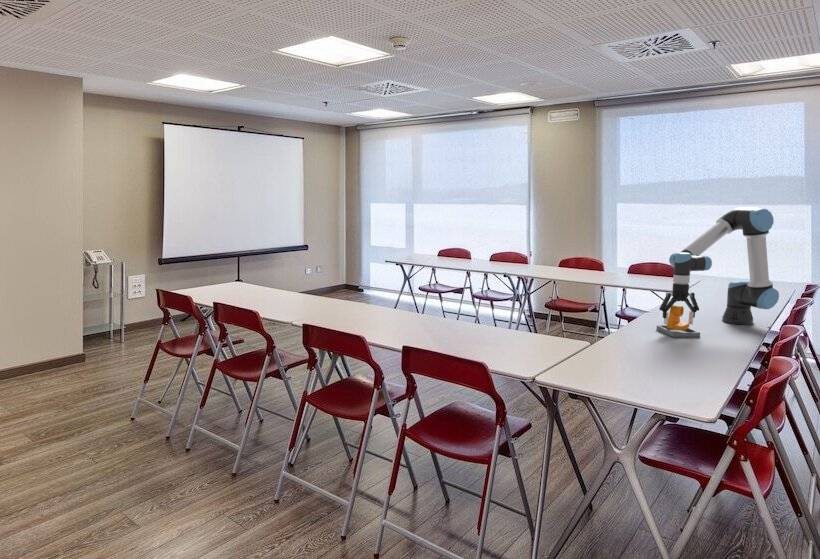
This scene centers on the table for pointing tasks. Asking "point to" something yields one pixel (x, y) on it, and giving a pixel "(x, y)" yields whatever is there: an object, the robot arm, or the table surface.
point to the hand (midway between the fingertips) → (678, 324)
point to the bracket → (676, 318)
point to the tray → (678, 332)
